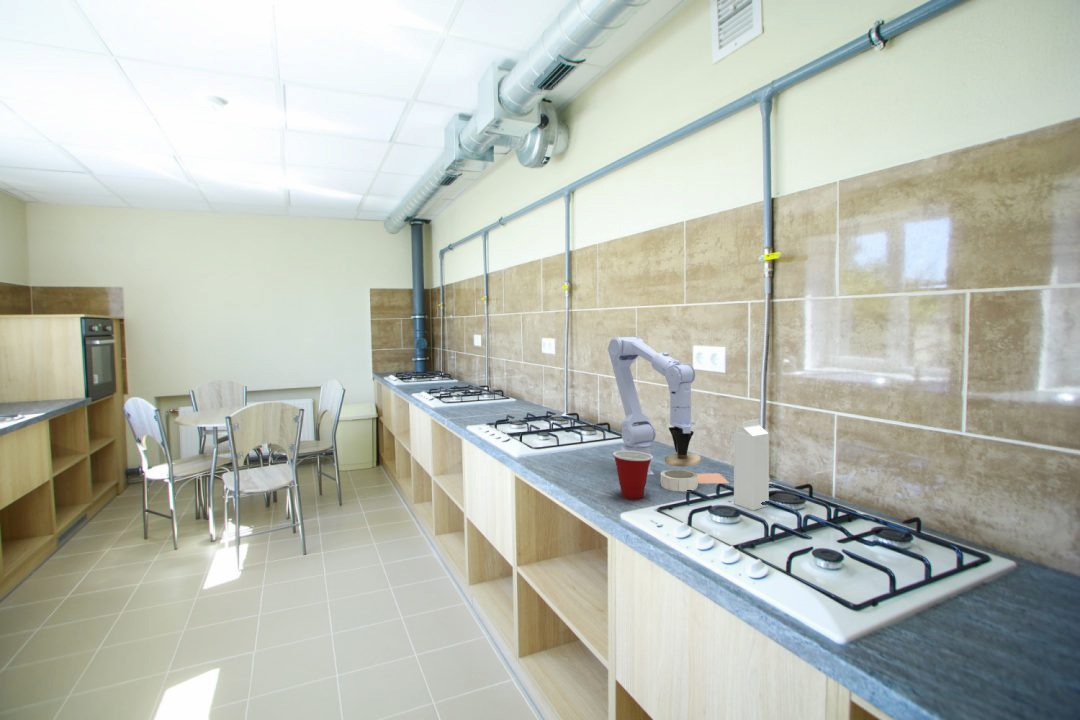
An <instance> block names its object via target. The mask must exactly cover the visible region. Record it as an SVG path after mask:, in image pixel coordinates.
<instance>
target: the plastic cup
mask: <svg viewBox="0 0 1080 720" xmlns="http://www.w3.org/2000/svg"><path fill="white" fill-rule="evenodd" d="M612 455H613V457H614V461H615V466H616V470H617V471H616V472H617V476H618V477H617V478H618V482H619V483H618V484H619V487H620V493H621V497H622V498H623V499H626V500H631V501H632V500H633V501H635V500H641V499H643V498H644V495H645V490H646V484H647V479H648V475H647V473H648V467H649V464H650V461H652V459H653V458H654V455H652V454H651V455H650V454H647V453H643V452H637V451H621V450H618V451H614V452H613V453H612Z"/></svg>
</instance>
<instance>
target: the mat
mask: <svg viewBox="0 0 1080 720" xmlns="http://www.w3.org/2000/svg"><path fill="white" fill-rule="evenodd" d="M696 474H697V475H698V484H699V485H701V484H702V485H704V484H730V482H729V481H728V479H726V478H725V477H724V476H723V475H722V474H720V473H715V472H714V473H712V472H711V473H696Z"/></svg>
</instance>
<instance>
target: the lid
mask: <svg viewBox="0 0 1080 720" xmlns="http://www.w3.org/2000/svg"><path fill="white" fill-rule="evenodd" d="M676 445H677V444H676ZM664 463H665V465H668V466H673V467H682V468H683V467H691V466H697V465H699V464H701V463H702V458H701V456H700V455H698V454H696V453H688V452H687V454H686V455H679V454H678V450H677V452H676V453H673V454H668V455H666V456H665V457H664Z"/></svg>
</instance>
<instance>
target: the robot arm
mask: <svg viewBox="0 0 1080 720" xmlns="http://www.w3.org/2000/svg"><path fill="white" fill-rule="evenodd" d="M607 351H608V355H609V359H610V361H611V367H612V369H613V373H614V377H615V381H616V386H617V388H618V391H619V397H620V400H621V404H622V408H623V411H624V415H625V418H624V419H623V420H622V422H621V423H620V426H621V427H620V428H621V438H622V441H623V443H624V445H621V446H620V451H637V452H643V453H647V454H650V455H652V454H651V446H652V445H653V442H654V441H655V439H656V436H657V435H656V434H657V433H656V428H655V426H654V425H653V423H652V421H651V418H650V417H649V416H647V415H646V414H645V413H643V410H642V407H641V403H640V398H639V396H638V392H637V389H636V386H635V385H636V384H635V382H634V378H633V374H632V371H631V366H632V364H633V363H635V362H636V360H637V359H638V358H639V357H641V358H642V359H644V360H645V361H647V362H650V363H651V367H652V369H653V370H654V371H656V372H658V373H659V374H660V375H662V376H663V377H664V378H665V381H666V382H667V387H668V390H669V396H670V397H669V399H670V400H669V401H670V403H669V405H670V408H669V409H670V412H669V413H670V421H669V425H670V426H671V427H668V430H669V433H670V435H671V437H672V440H673V446H674V451H675V453H677V450H678V454H679V455H686V454H687V453H688V449H689V446H690V442H691V439H692V437H693V435H694V431H693V430H692V429H691V427H692V426H693V425H696V421H694V420H692V385H691V384H692V383H693V382H694V381H695V377H696V371H695V369H694V367H693V366H691V364H690V363H681V361H680V360H678V359H674V358H673V357H671V356H670V353H668V352H667V351H665V352H657V351H655V349H653V348H652V347H650V346H649V345H648V344H646V343H645V341H644V339H643V338H640V337H639V336H637V335H635V336H622V337H621V336H619V337H618V336H614V337H612V338H611V339H610V341H609V343H608V346H607ZM676 444H677V445H676ZM651 461H652V460H651ZM651 461H650V464H649V467H648V473H647V476H650V475H654V472H653V470H652V469H651V468H652V467H651V465H652V462H651Z"/></svg>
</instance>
